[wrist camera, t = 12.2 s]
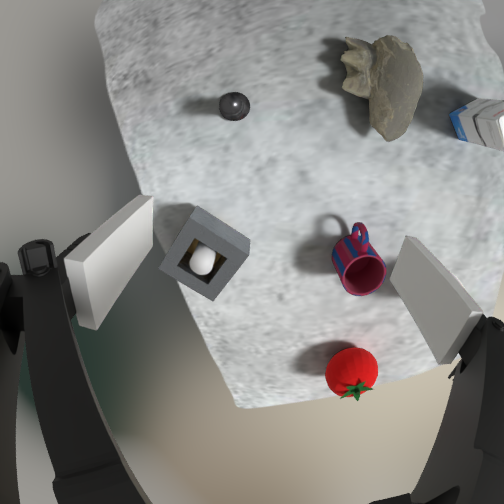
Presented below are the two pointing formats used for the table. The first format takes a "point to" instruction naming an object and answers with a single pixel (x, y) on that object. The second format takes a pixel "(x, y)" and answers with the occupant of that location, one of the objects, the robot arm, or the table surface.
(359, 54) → the fossil
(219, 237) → the grey square bin
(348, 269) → the mug
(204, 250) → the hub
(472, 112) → the ink box
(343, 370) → the tomato
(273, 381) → the table surface
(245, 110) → the dark grey round-topped piece
